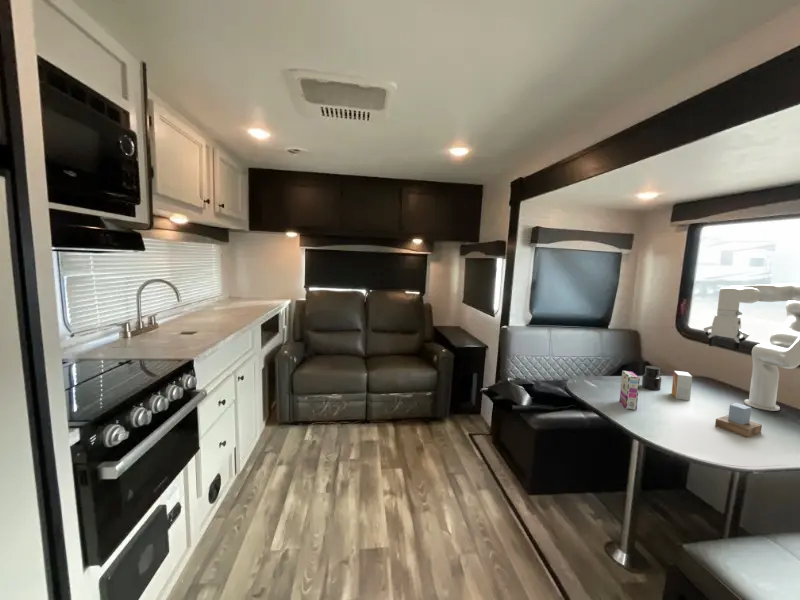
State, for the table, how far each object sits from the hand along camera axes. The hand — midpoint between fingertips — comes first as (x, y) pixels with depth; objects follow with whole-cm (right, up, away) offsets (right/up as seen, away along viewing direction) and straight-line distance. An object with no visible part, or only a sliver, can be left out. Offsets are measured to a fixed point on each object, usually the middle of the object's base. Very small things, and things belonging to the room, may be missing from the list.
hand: (723, 348), depth 175 cm
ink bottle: (-14, -27, +31) cm, 43 cm away
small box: (-7, -29, +18) cm, 34 cm away
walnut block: (-12, -33, -20) cm, 40 cm away
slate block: (-11, -29, -20) cm, 37 cm away
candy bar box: (-43, -30, +5) cm, 53 cm away
